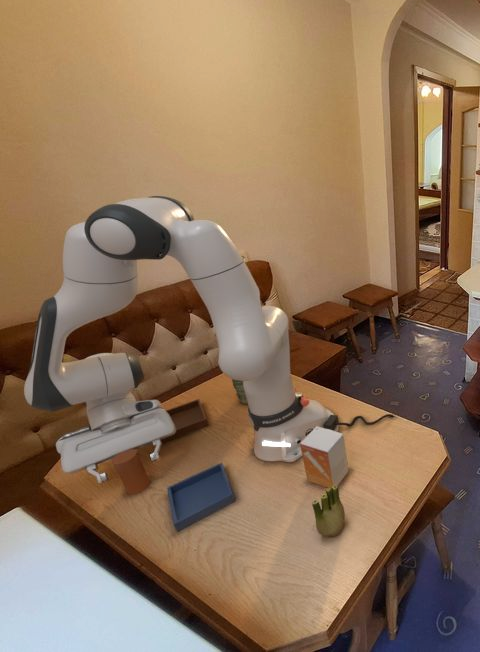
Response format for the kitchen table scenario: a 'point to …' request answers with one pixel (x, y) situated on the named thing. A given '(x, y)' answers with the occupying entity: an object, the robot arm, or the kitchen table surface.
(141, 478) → the spice tin
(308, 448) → the small box
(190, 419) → the walnut tray
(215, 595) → the kitchen table surface
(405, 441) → the kitchen table surface
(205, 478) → the blue tray
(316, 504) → the fennel bulb
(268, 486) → the kitchen table surface
